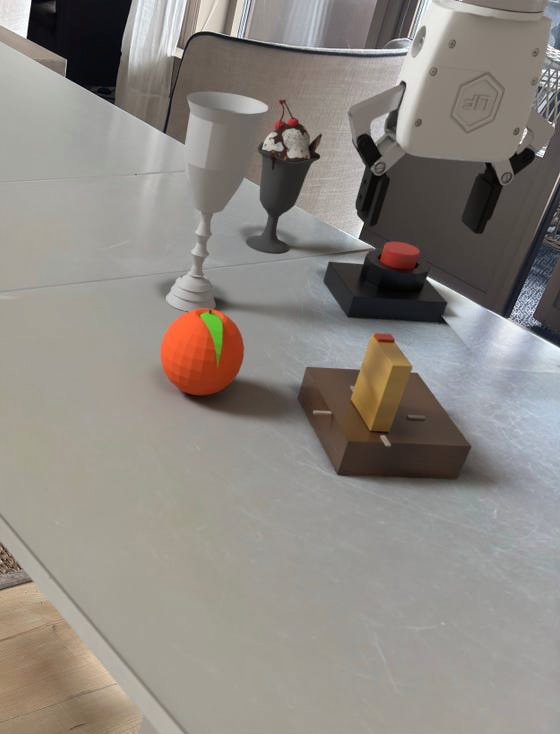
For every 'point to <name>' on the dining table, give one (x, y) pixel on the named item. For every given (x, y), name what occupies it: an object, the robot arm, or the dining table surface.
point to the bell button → (400, 255)
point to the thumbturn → (381, 382)
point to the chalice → (214, 175)
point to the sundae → (282, 176)
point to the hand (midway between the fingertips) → (418, 224)
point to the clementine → (202, 351)
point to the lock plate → (376, 448)
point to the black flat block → (384, 290)
